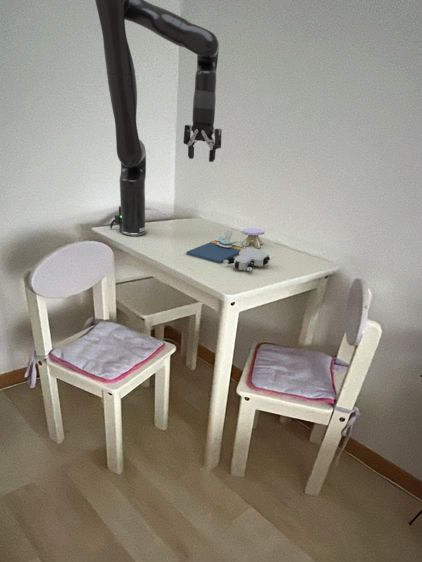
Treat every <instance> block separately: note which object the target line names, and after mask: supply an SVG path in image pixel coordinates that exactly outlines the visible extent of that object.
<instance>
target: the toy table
mask: <svg viewBox="0 0 422 562" xmlns="http://www.w3.org/2000/svg"><path fill="white" fill-rule="evenodd" d="M265 233H266V230H265V229H262V228H257V227H255V228H254V227H252V228H251V227H249V228H243V229H242V230H241V234H243V235H245V236H247V237H246V238H244V241H243V242H242V247H249V246H250V243H251V241H253V244H254V247H255V249H261V245H262V244H263V241H262V240H261V239H260V237H259V236H262V235H264V234H265Z"/></svg>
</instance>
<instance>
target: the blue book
mask: <svg viewBox="0 0 422 562" xmlns="http://www.w3.org/2000/svg"><path fill="white" fill-rule="evenodd" d="M218 242H219V240H211V241H209V242H207V243H205V244H202V245H200V246H198V247H195V248H192V249H190V250H187V251H186V255H187V256H191V257H195V258H199V259H202V260H206V261H208V262H214V263H216V264H222V263H224V262H223V261H224V260H227V258H231V257H233V258H236V257H238V252H239V251H241V250H242V249H243V248H244V247H245V246H239V245H235V244H231V245H232V247H231V248H226V247H221V246H219V245H217V243H218ZM221 245H222V244H221Z"/></svg>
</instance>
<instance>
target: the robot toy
mask: <svg viewBox="0 0 422 562" xmlns="http://www.w3.org/2000/svg"><path fill="white" fill-rule="evenodd" d="M243 247H244V248H243V249H242V250H241V251H239V252H238V255H237V256H235V257H231V258H227V260H224V261H223V262H222V263H224V264H228V265H232V264H233V269H237V270H239V271H244V272H246V271H249V272H253V270H254V267H259V268H261V267H263V266H266V265H267V264H269V263H270V262H271V261H272V260H273V258H275V255H272V257H270V254H269V253H268V252H266V251H264V250H261V249H259V248H252V247H247V246H243Z"/></svg>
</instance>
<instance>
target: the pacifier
mask: <svg viewBox="0 0 422 562" xmlns="http://www.w3.org/2000/svg"><path fill="white" fill-rule="evenodd" d="M232 235H233V230H232V229H231V228H229V227H228V228H226V229H225V231H224V236H225V237H223V236H218V241H219V242H218V243H217V245H219V246H221V247H226V248H231V247H232V245H235V244H236V243H237V241H231V237H232ZM221 244H222V245H221ZM231 244H232V245H231Z"/></svg>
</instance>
